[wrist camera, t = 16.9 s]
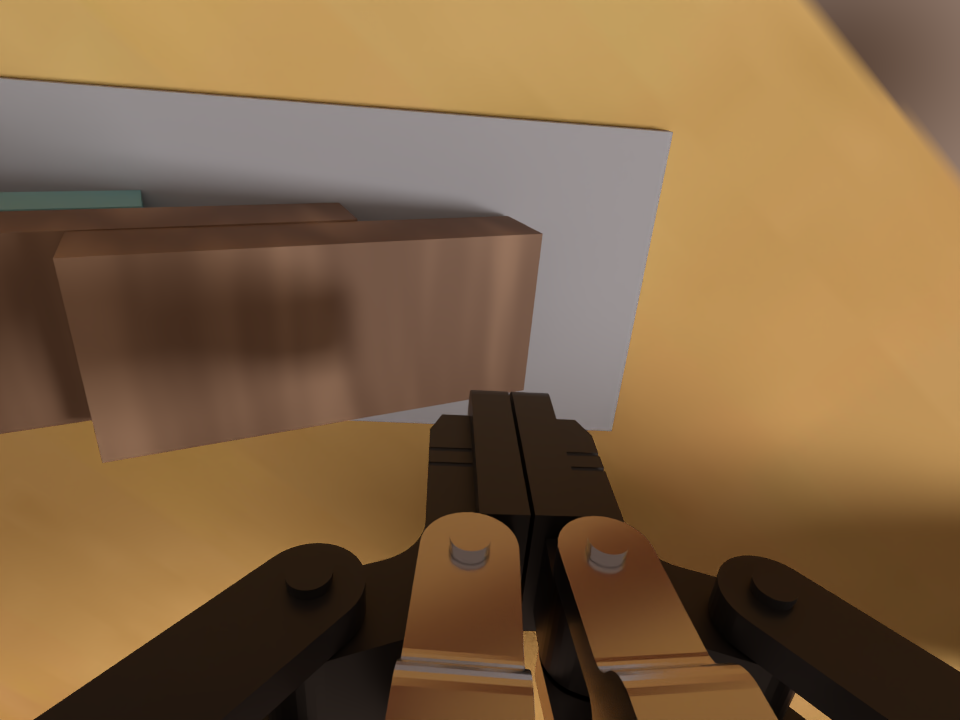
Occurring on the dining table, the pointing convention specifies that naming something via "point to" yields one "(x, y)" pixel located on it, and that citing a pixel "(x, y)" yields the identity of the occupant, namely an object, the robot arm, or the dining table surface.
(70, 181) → the felt mat
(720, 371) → the dining table surface
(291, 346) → the domino
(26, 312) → the domino
